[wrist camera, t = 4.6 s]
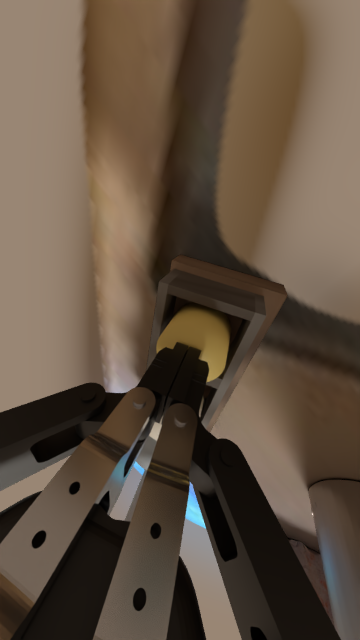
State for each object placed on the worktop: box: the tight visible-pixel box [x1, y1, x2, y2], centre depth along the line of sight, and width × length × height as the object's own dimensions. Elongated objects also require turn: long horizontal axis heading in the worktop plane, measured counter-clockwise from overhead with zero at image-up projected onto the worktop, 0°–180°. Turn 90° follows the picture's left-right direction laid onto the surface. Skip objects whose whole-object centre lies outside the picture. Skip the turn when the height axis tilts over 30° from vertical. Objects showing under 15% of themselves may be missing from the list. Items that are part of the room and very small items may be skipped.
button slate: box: [136, 436, 157, 471], centre depth 19 cm, size 4×4×3 cm
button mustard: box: [156, 302, 231, 382], centre depth 13 cm, size 4×4×3 cm
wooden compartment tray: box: [146, 255, 288, 432], centre depth 18 cm, size 20×8×5 cm, turn 168°
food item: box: [288, 539, 335, 627], centre depth 31 cm, size 14×8×10 cm, turn 86°
